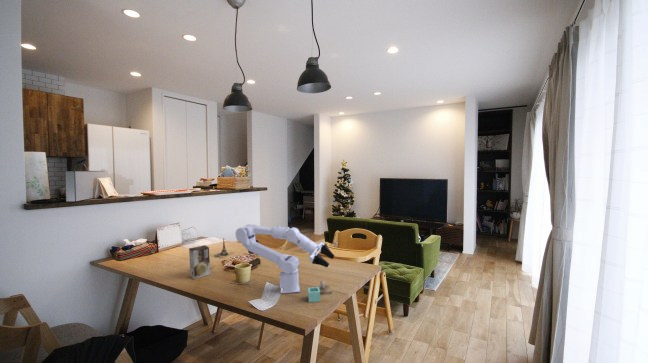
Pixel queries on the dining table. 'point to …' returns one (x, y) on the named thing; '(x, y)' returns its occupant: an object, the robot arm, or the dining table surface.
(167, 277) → the dining table surface
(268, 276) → the dining table surface
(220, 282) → the dining table surface
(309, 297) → the teal hollow block
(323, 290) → the pin plate
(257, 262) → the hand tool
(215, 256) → the eiffel tower figurine
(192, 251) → the coffee box
